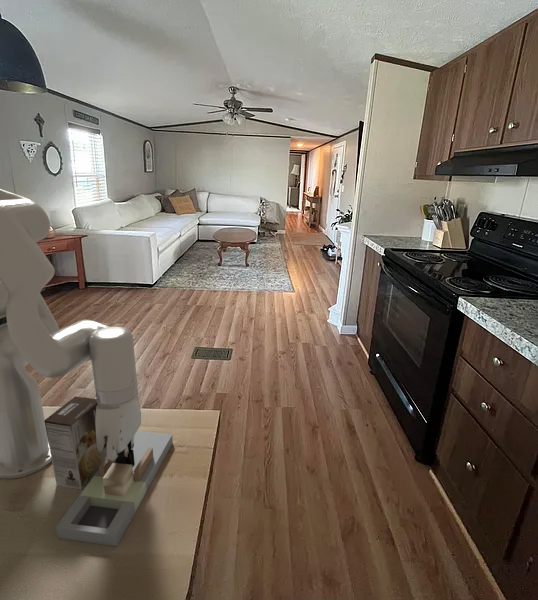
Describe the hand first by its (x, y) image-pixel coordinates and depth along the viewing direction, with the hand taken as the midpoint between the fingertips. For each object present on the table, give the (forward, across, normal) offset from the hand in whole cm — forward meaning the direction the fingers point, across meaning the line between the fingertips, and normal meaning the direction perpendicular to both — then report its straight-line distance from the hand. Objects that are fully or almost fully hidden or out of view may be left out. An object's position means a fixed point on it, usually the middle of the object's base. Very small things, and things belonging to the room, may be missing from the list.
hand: (125, 467), depth 78 cm
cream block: (+1, +4, +1) cm, 4 cm away
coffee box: (+4, -1, -10) cm, 11 cm away
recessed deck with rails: (+4, 0, 0) cm, 4 cm away
